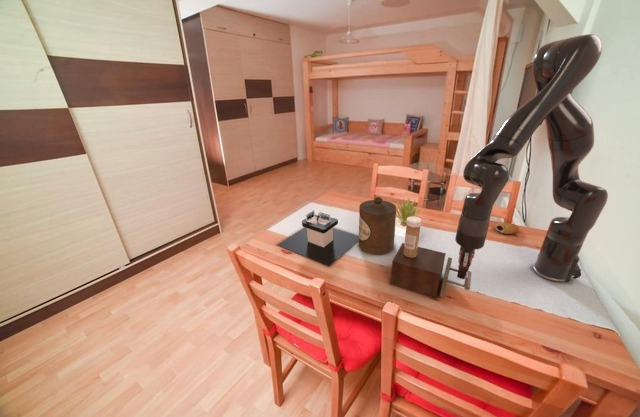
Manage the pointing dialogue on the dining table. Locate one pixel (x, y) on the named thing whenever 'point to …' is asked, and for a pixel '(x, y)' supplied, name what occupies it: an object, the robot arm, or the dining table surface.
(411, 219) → the sprinkles bottle
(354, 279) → the dining table surface
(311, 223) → the capped box on tray
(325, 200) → the dining table surface
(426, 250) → the cabinet
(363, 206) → the wooden container
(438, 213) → the dining table surface
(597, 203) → the robot arm
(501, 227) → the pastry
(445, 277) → the drawer
